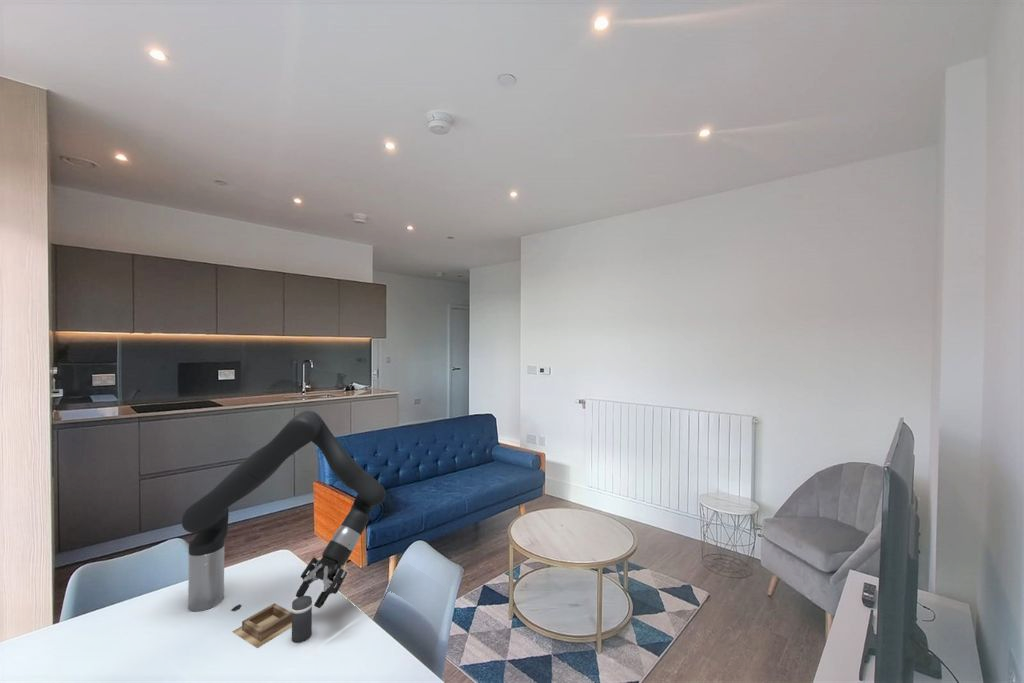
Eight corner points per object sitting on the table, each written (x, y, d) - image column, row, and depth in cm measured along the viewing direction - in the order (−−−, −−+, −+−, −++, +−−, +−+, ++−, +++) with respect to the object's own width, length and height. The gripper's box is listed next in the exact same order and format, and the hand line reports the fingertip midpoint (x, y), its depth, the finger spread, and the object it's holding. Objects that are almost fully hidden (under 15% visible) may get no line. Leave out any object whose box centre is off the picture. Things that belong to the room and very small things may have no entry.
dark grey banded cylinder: (287, 639, 114) (287, 603, 114) (304, 627, 119) (304, 593, 119) (298, 646, 111) (298, 609, 111) (316, 634, 116) (316, 598, 116)
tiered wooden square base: (231, 633, 117) (232, 622, 117) (276, 608, 128) (277, 598, 128) (257, 650, 110) (257, 638, 111) (302, 622, 122) (302, 611, 122)
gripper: (319, 534, 127) (283, 590, 117) (350, 545, 120) (314, 606, 110) (334, 544, 132) (300, 598, 122) (364, 555, 125) (331, 614, 115)
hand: (307, 602), depth 116 cm, fingers open, 8 cm apart
